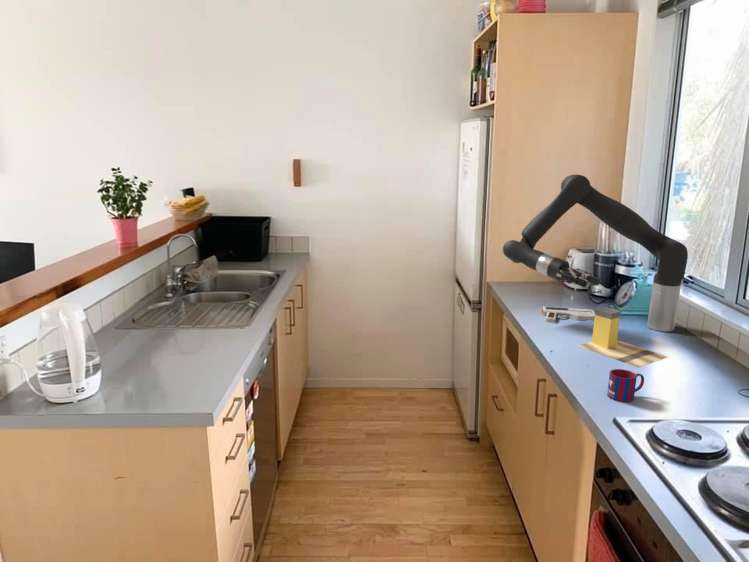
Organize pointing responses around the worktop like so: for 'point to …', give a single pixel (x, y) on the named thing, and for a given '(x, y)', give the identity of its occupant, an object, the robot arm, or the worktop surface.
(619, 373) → the mug
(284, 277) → the worktop surface
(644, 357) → the plywood panel
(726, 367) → the worktop surface
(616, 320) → the yellow spice tin
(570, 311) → the futuristic handgun
